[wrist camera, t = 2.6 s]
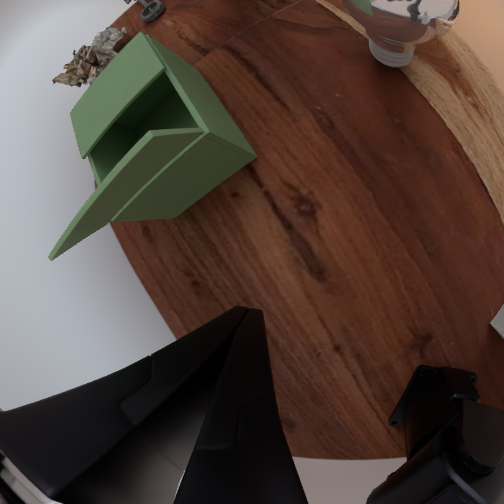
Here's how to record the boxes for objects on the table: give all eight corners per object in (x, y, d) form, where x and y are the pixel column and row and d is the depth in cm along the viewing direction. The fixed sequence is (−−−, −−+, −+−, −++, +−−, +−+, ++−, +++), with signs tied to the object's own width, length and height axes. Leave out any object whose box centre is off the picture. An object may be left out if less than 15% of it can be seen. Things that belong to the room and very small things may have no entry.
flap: (201, 127, 13) (205, 132, 13) (103, 221, 16) (106, 224, 16) (149, 129, 8) (154, 136, 8) (47, 256, 11) (51, 261, 11)
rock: (83, 39, 26) (64, 34, 22) (141, 26, 22) (118, 16, 18) (65, 88, 29) (45, 85, 25) (116, 89, 25) (90, 84, 21)
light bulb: (417, 111, 15) (468, 13, 4) (333, 72, 17) (299, -42, 6) (439, 50, 13) (472, -48, 2) (361, 16, 15) (345, -90, 4)
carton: (257, 157, 20) (203, 128, 13) (175, 218, 23) (103, 223, 16) (197, 69, 21) (140, 30, 13) (133, 129, 24) (69, 113, 16)
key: (149, 27, 22) (169, 8, 21) (143, 24, 21) (164, 4, 20) (126, 1, 23) (141, -15, 22) (121, -2, 22) (137, -18, 21)
